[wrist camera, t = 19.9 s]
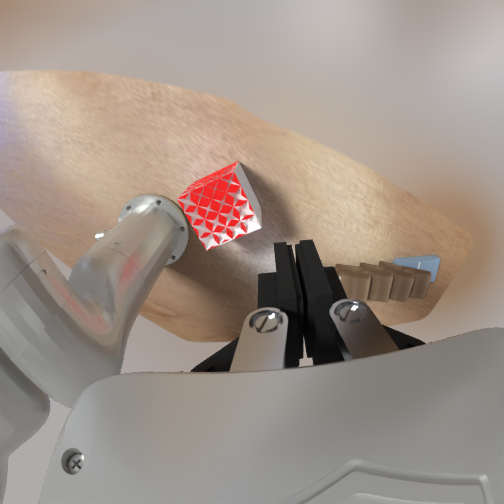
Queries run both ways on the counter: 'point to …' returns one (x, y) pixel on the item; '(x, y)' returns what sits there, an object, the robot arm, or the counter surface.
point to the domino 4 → (421, 263)
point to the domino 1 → (355, 284)
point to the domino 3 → (396, 282)
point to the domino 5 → (420, 278)
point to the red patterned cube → (221, 206)
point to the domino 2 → (374, 282)
